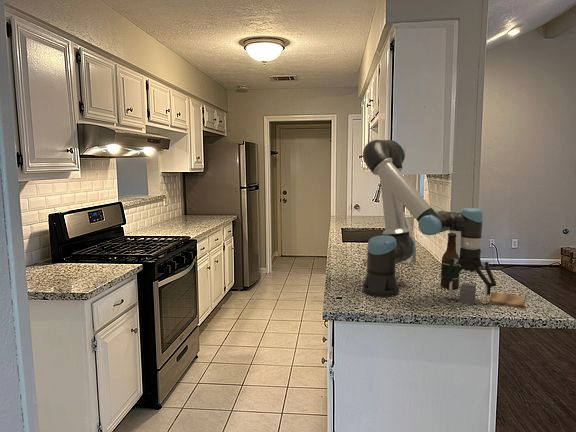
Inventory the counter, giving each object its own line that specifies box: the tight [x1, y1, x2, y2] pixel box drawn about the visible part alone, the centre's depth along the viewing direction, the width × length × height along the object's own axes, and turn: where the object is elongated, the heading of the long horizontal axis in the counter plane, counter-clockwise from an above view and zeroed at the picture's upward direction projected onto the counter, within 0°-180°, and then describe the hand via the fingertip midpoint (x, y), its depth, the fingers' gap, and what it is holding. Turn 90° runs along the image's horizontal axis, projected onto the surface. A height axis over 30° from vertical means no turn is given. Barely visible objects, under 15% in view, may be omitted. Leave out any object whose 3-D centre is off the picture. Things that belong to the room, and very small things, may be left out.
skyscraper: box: [398, 211, 417, 265], centre depth 234 cm, size 8×8×28 cm
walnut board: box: [488, 291, 525, 309], centre depth 173 cm, size 12×12×1 cm
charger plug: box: [459, 282, 477, 306], centre depth 175 cm, size 5×10×6 cm, turn 152°
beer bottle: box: [440, 232, 460, 290], centre depth 191 cm, size 8×8×24 cm
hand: (467, 300), depth 174 cm, fingers open, 12 cm apart
